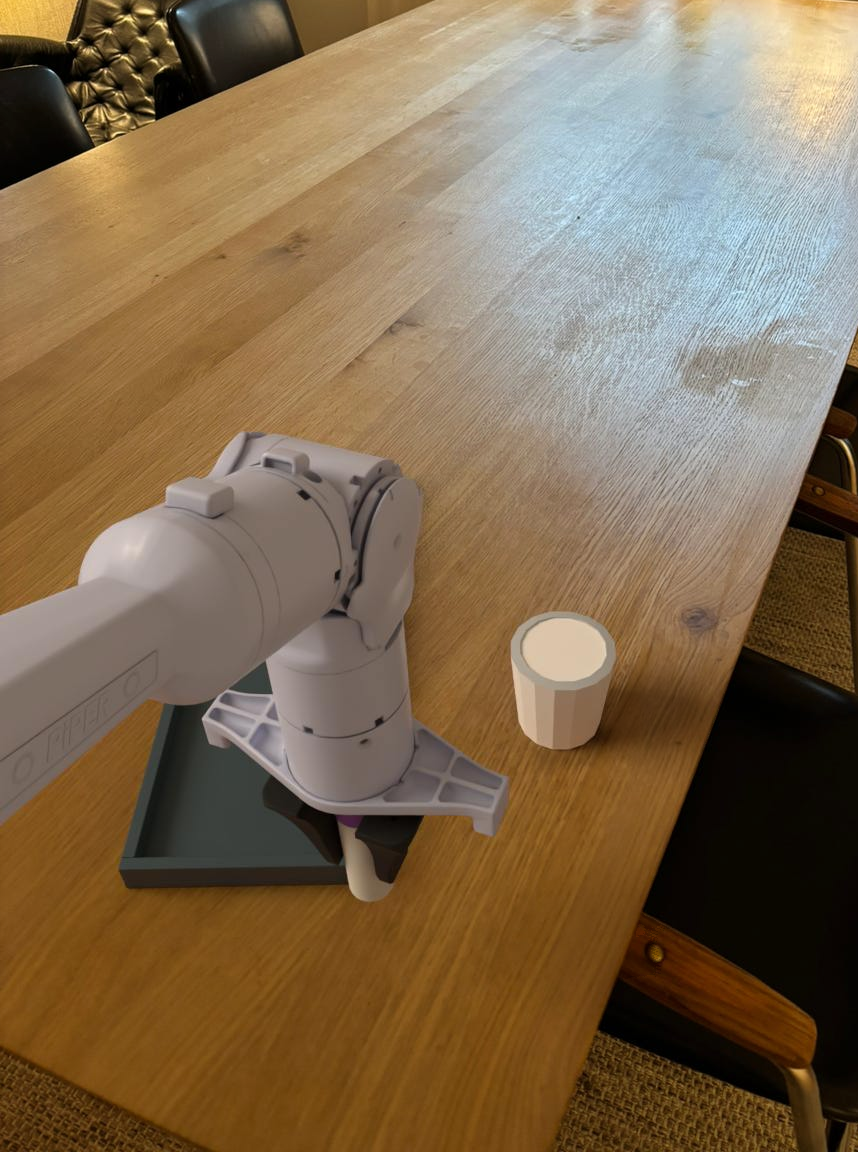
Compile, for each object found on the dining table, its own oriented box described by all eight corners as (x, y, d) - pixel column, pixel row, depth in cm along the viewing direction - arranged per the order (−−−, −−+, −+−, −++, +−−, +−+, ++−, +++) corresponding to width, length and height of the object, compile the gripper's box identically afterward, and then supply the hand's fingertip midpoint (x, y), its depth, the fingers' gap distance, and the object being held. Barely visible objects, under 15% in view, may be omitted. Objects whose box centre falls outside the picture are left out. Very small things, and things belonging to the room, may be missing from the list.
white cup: (489, 726, 70) (489, 658, 65) (543, 663, 74) (546, 595, 70) (576, 774, 67) (582, 706, 62) (626, 705, 71) (635, 637, 67)
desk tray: (353, 884, 61) (350, 865, 60) (125, 888, 61) (117, 869, 60) (387, 486, 90) (386, 467, 88) (232, 488, 90) (228, 470, 88)
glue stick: (384, 910, 53) (369, 811, 47) (338, 894, 53) (318, 794, 47) (404, 867, 54) (393, 766, 49) (360, 852, 55) (343, 750, 49)
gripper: (534, 661, 44) (528, 834, 53) (240, 579, 48) (281, 754, 57) (475, 793, 39) (479, 960, 48) (154, 690, 43) (212, 862, 52)
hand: (368, 856), depth 52 cm, fingers closed on glue stick, 2 cm apart
